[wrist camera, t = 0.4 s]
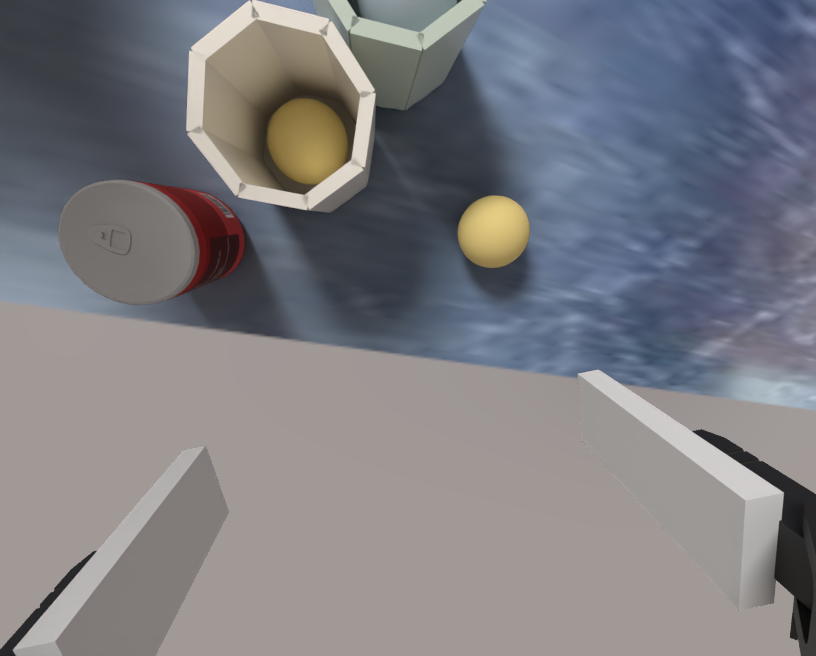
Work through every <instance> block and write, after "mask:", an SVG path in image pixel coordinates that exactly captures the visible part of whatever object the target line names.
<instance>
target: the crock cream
mask: <svg viewBox="0 0 816 656" xmlns="http://www.w3.org/2000/svg"><path fill="white" fill-rule="evenodd" d="M191 49H192V50H193V51H194V52H193V51H189V72H188V98H187V123H186V131H188V132H189V133H188V136H189V137H190V138H191V139H192V141H193V142H194V143H195V145H196V146H197V147H198V148H199V150H200V151H201V152H202V153H203V155H204V156H205V157H206V159H207V160H208V161H209V162H210V164H211V165H212V166H213V168H214V169H215V170H216V171H217V173H218V174H219V175H220V176H221V178H222V179H223V180H224V182H225V183H226V184H227V185H228V187H229V188H230V189H231V190H232V192H233V193H234V194H235V196H238V197H239V198H244V199H249V200H255V201H260V202H265V203H271V204H276V205H281V206H287V207H292V208H297V209H303V210H309V211H319V212H329V213H330V212H332V211H334V210H335V209H337V208H338V207H339V206H341V205H342V204H343V203H345V202H346V201H348V200H349V199H351V198H352V197H353V196H354V195H356V194H357V193H358V192H360V191H361V190H362V189H364V188H365V187H366V186H367V185H368V179H369V173H370V166H371V159H372V153H373V146H374V139H375V104H376V93H375V89H374V88H373V86H372V84H371V83H370V81H369V80H368V78H367V76H366V75H365V73H364V72H363V70H362V68H361V67H360V65H359V64H358V62H357V60H356V59H355V57H354V56H353V54H352V52H351V51H350V49H349V48H348V46H347V44H346V43H345V41H344V40H343V38H342V36H341V35H340V33H339V32H338V30H337V28H336V27H335V25H334V24H333V22H332V21H331V22H329V19H328V18H324V17H320V16H316V15H312V14H308V13H304V12H300V11H296V10H292V9H288V8H284V7H280V6H276V5H272V4H268V3H264V2H260V1H256V0H253V1H252V3H251V2H250V0H249V1H248V2H247V3H245V4H244V5H243V6H242V7H240V8H239V9H238V10H237V11H235V12H234V13H233V14H232V15H230V16H229V17H228V18H227V19H226V20H224V21H223V22H222V23H221V24H219V25H218V26H217V27H216V28H214V29H213V30H212V31H211V32H209V33H208V34H207V35H206V36H205V37H203V38H202V39H201V40H200V41H198V42H197V43H196V44H195V45H193V46H192V47H191ZM299 98H308V99H314V100H317V101H319V102H322V103H324V104H325V105H327V106H328V107H330V108H331V109H332V110H333V111H334V112H335V113H336V114H337V115H338V117H339V118H340V120H341V121H342V123H343V125H344V127H345V129H346V133H347V137H348V155H347V159H346V162H345V164H344V166H343V167H341V168H340V169H339V170H337V171H336V172H335V173H333V174H332V175H331V176H329V177H328V178H327V179H325V180H324V181H323V182H321V183H320V184H317V185H307V184H302V183H299V182H296V181H294V180H292V179H290V178H289V177H288V176H286V175H285V174H284V173H283V172H282V171H281V170H280V169H279V168H278V167H277V165H276V164H275V162H274V161H273V159H272V157H271V154H270V151H269V147H268V140H267V133H268V127H269V124H270V121H271V119H272V117H273V115H274V113H275V112H276V111H277V110H278V109H279V108H280V107H281V106H282V105H283V104H285V103H287V102H289V101H291V100H294V99H299ZM366 184H367V185H366Z"/></svg>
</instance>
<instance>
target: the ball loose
mask: <svg viewBox="0 0 816 656" xmlns="http://www.w3.org/2000/svg"><path fill="white" fill-rule="evenodd" d="M529 235H530V225H529V221H528V218H527V215H526V213H525V211H524V210H523V208H522V207H521V206H520V205H519V204H518V203H516V202H515V201H513V200H512V199H510V198H507V197H504V196H497V195H494V196H487V197H483V198H481V199H479V200H477V201H475V202H474V203H472V204H471V205H470V206H469V207H468V208H467V209H466V211H465V212H464V213H463V215H462V217H461V219H460V222H459V226H458V241H459V245H460V247H461V249H462V251H463V253H464V254H465V256H466V257H467V258H468V259H469V260H471V261H472V262H473V263H475V264H477V265H479V266H482V267H487V268H497V267H502V266H505V265H507V264H509V263H511V262H513V261H514V260H515V259H517V258H518V257H519V256H520V255H521V253H522V252H523V251H524V249H525V247H526V245H527V243H528V239H529Z"/></svg>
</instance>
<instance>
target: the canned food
mask: <svg viewBox="0 0 816 656" xmlns="http://www.w3.org/2000/svg"><path fill="white" fill-rule="evenodd" d="M58 232H59V242H60V246H61V250H62V252H63V255H64V257H65V259H66V261H67V263H68V264H69V266H70V267H71V269H72V270H73V272H74V273H75V274H76V275H77V276H78V277H79V278H80V279H81V281H82V282H83V283H84V284H86V285H87V286H88V287H90V288H91V289H92V290H94V291H95V292H97V293H99V294H101V295H103V296H104V297H106V298H109V299H112V300H115V301H117V302H121V303H126V304H132V305H147V304H152V303H158V302H163V301H165V300H168V299H171V298H174V297H176V296H179V295H181V294H184V293H186V292H189V291H191V290H193V289H196V288H198V287H201V286H203V285H205V284H208V283H210V282H213V281H215V280H217V279H220V278H222V277H225V276H226V275H228V274H229V273H231V272H232V271H233V270H234V269H235V268H236V267H237V265H238V264H239V262H240V260H241V259H242V256H243V253H244V246H245V238H244V232H243V229H242V226H241V224H240V222H239V220H238V218H237V216H236V215H235V214H234V212H233V211H232V210H231V209H230V208H229V207H228V206H227V205H226V204H225V203H224V202H222V201H221V200H219V199H218V198H216V197H214V196H212V195H210V194H207V193H204V192H200V191H195V190H189V189H183V188H177V187H170V186H164V185H158V184H152V183H145V182H139V181H130V180H106V181H100V182H95V183H93V184H90V185H88V186H85V187H83V188H82V189H80V190H79V191H78V192H76V193H75V194H74V195H73V196H72V197H71V198H70V199H69V200H68V202H67V203H66V204H65V207H64V209H63V211H62V213H61V216H60V220H59V225H58Z"/></svg>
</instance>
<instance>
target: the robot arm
mask: <svg viewBox="0 0 816 656" xmlns="http://www.w3.org/2000/svg"><path fill="white" fill-rule="evenodd" d="M578 385H579V386H578V387H579V403H580V418H581V433H582V443H583V444H584V445H585V446H586V447H587V448H588V449H589V450H590V451H591V452H592V453H593V455H594V456H595V457H596V458H597V459H598V460H599V461H600V462H601V463H602V464H603V465H604V466H605V468H607V470H608V471H609V472H610V473H611V474H612V475H613V476H614V477H615V478H616V479H617V480H618V481H619V483H620V484H621V485H622V486H623V487H624V488H625V489H626V490H627V491H628V492H629V493H630V494H631V495H632V497H633V498H634V499H635V500H636V501H637V502H638V503H639V504H640V505H641V506H642V507H643V508H644V509H645V510H646V512H647V513H648V514H649V515H650V516H651V517H652V518H653V519H654V520H655V521H656V522H657V523H658V524H659V525H660V526H661V528H662V529H663V530H664V531H665V532H666V533H667V534H668V535H669V536H670V537H671V538H672V539H673V541H674V542H675V543H676V544H677V545H678V546H679V547H680V548H681V549H682V550H683V551H684V552H685V553H686V554H687V556H688V557H689V558H690V559H691V560H692V561H693V562H694V563H695V564H696V565H697V566H698V567H699V568H700V570H701V571H702V572H703V573H704V574H705V575H706V576H707V577H708V578H709V579H710V580H711V581H712V582H713V583H714V585H715V586H716V587H717V588H718V589H719V590H720V591H721V592H722V593H723V594H724V595H725V596H726V597H727V598H728V599H729V601H730V602H731V603H732V604H733V605H734V606H735V607H736V608H737V609H738V610H743V609H748V608H753V607H757V606H762V605H767V604H771V603H774V595H775V584H776V580H777V581H778V582H779V583H780V584H781V585H782V586H784V587H785V588H786V589H787V590H788V591H789V592H790V593H791V594H792V595H794V605H793V613H792V623H791V631H790V638H793V639H795V640H797V639H798V640H799V647H800V652H801V656H816V494H814V493H813V492H811V491H810V490H808V489H806V488H805V487H803V486H802V485H800V484H798V483H797V482H795V481H794V480H792V479H790V478H789V477H787V476H786V475H784V474H782V473H781V472H779V471H778V470H776V469H774V468H773V467H771V466H769V465H768V464H766V463H765V462H763V461H759V460H758V458H757V457H755V456H753V455H752V454H750V453H748V452H747V451H746V452H744V451H743V449H742V448H740V447H739V446H737V445H736V444H734V443H732V442H730V441H729V440H727V439H726V438H724V437H721V436H719V435H715V434H713V433H710V432H707V431H705V430H702V429H701V430H696V431H690V430H689V429H687V428H686V427H684V426H683V425H681V424H680V423H678V422H677V421H675V420H674V419H672V418H671V417H669V416H667V415H666V414H665V413H663V412H662V411H660V410H659V409H657V408H656V407H654V406H653V405H651V404H650V403H648V402H647V401H645V400H644V399H642V398H641V397H639V396H638V395H636V394H634V393H633V392H631V391H630V390H629V389H627V388H625V387H624V386H623V385H621V384H620V383H618V382H616V381H615V380H613V379H612V378H610V377H609V376H607V375H606V374H604V373H603V372H601V371H600V370H595V371H590V372H584V373H579V374H578ZM228 513H229V511H228V508H227V505H226V502H225V499H224V496H223V493H222V491H221V488H220V485H219V482H218V479H217V476H216V473H215V471H214V468H213V465H212V462H211V459H210V456H209V453H208V450H207V448H206V446H201V447H196V448H191V449H185V450H183V451H182V452H181V453H180V455H179V456H178V457H177V458H176V459H175V460H174V462H173V463H172V464H171V465H170V466H169V467H168V469H167V470H166V471H165V472H164V473H163V475H162V476H161V477H160V478H159V479H158V480H157V481H156V483H155V484H154V485H153V486H152V487H151V489H150V490H149V491H148V492H147V493H146V495H145V496H144V497H143V498H142V499H141V500H140V501H139V503H138V504H137V505H136V506H135V507H134V508H133V510H132V511H131V512H130V513H129V514H128V515H127V517H126V518H125V519H124V520H123V521H122V522H121V524H120V525H119V526H118V527H117V529H115V531H114V532H113V533H112V534H111V535H110V537H109V538H108V539H107V540H106V541H105V543H104V544H103V545H102V546H101V547H100V548H99V549H98V551H93V552H92V553H91V554H90V555H88V556H87V557H86V558H85V559H83V560H82V561H81V562H80V563H78V564H77V565H76V566H75V567H74V568H72V569H71V570H70V571H69V572H68V574H67V575H66V576H65V577H64V578H63V579H62V580H61V582H60V583H59V584H58V585H57V586H56V587H55V588H54V592H51V593H50V594H49V595H48V596H47V597H46V598H45V600H44V601H43V602H42V603H41V604H40V608H38V609H36V610H35V611H34V612H33V613H32V614H31V615H30V617H29V618H28V619H27V620H26V621H25V622H24V623H23V625H22V626H21V627H20V628H19V629H18V630H17V631H16V633H15V634H14V635H13V636H12V637H11V638H10V639H9V640H8V641H7V643H6V644H5V645H4V646H3V647H2V648H1V649H0V656H155V655H156V654H157V652H158V650H159V648H160V646H161V644H162V642H163V640H164V638H165V636H166V634H167V632H168V630H169V628H170V626H171V624H172V622H173V620H174V618H175V616H176V615H177V613H178V611H179V609H180V607H181V605H182V603H183V601H184V599H185V597H186V595H187V593H188V591H189V589H190V587H191V585H192V583H193V581H194V579H195V577H196V576H197V573H198V572H199V570H200V568H201V566H202V564H203V562H204V560H205V558H206V556H207V554H208V552H209V550H210V548H211V546H212V544H213V542H214V540H215V538H216V536H217V534H218V533H219V531H220V529H221V527H222V525H223V523H224V521H225V519H226V517H227V515H228Z"/></svg>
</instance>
